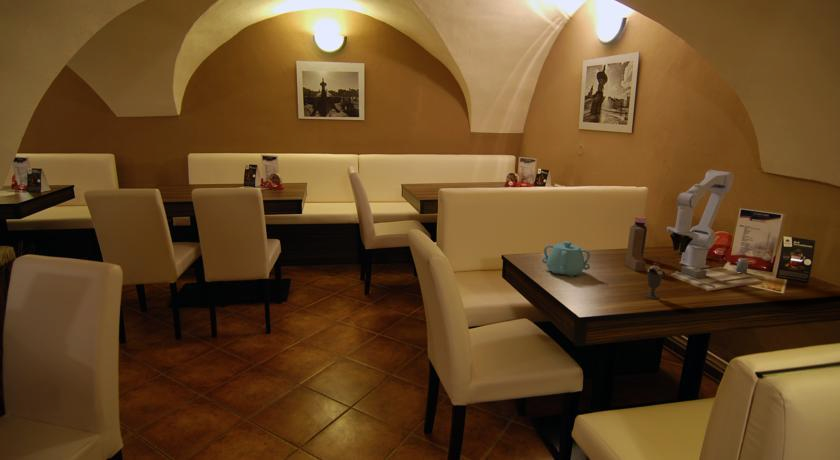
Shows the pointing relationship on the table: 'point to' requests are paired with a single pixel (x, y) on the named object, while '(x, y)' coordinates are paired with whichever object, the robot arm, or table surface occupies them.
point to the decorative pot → (566, 259)
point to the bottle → (641, 222)
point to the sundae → (654, 279)
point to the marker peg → (742, 265)
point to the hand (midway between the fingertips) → (679, 251)
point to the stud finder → (694, 272)
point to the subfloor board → (717, 279)
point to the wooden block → (635, 249)
